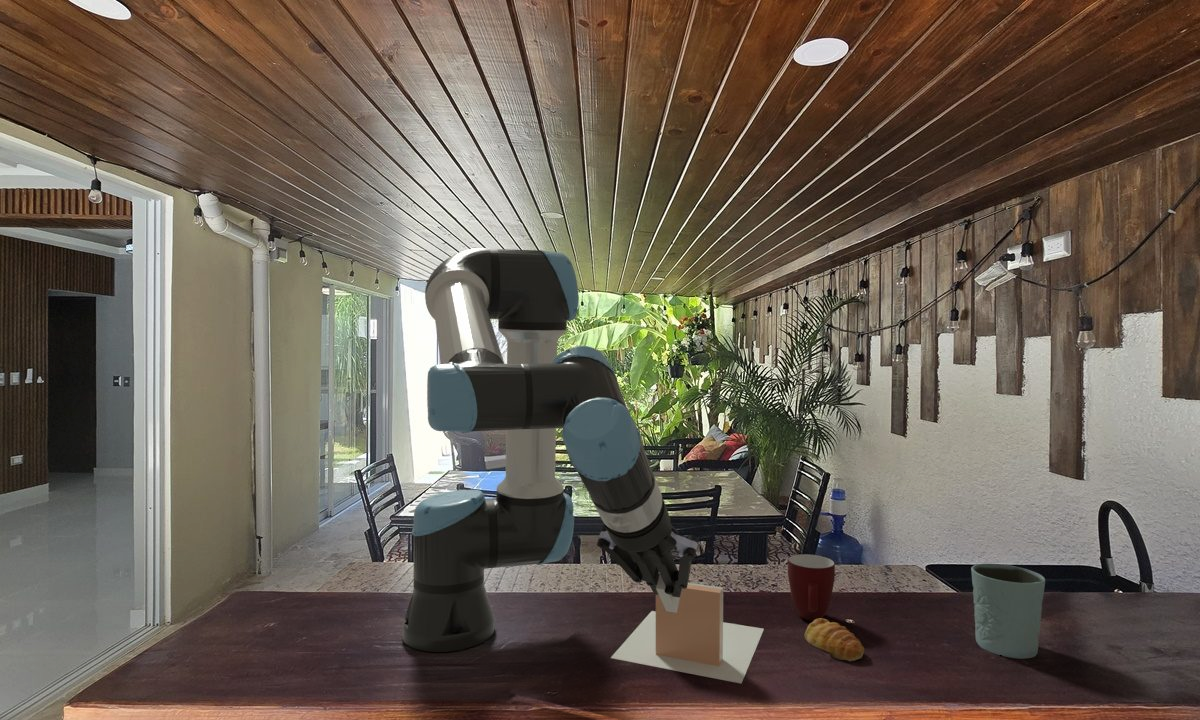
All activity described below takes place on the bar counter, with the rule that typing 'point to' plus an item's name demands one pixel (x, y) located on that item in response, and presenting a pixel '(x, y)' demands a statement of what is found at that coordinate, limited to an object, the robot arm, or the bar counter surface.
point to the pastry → (834, 640)
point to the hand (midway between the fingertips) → (673, 602)
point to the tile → (692, 626)
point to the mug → (811, 584)
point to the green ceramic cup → (1007, 609)
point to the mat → (732, 668)
